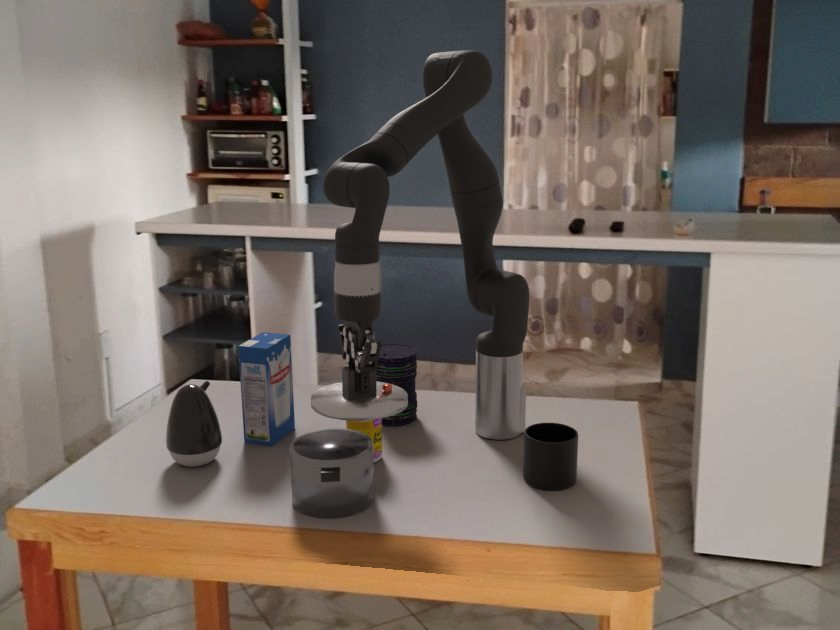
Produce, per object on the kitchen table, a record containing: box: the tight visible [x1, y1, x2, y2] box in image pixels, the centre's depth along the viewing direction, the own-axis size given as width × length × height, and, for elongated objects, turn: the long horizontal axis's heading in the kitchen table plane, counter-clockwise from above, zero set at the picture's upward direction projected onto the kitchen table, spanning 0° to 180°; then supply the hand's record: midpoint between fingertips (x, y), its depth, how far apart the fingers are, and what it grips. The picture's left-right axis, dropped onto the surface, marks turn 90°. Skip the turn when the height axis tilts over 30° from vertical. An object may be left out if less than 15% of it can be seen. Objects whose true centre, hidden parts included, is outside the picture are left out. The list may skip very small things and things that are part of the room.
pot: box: [289, 427, 375, 519], centre depth 151 cm, size 18×14×10 cm
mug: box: [522, 422, 579, 491], centre depth 158 cm, size 9×12×9 cm
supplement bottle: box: [345, 418, 383, 464], centre depth 166 cm, size 7×7×13 cm
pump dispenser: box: [165, 380, 223, 468], centre depth 165 cm, size 10×10×15 cm
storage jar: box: [376, 343, 418, 428], centre depth 185 cm, size 10×10×15 cm
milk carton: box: [237, 331, 296, 447], centre depth 176 cm, size 10×6×20 cm, turn 161°
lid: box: [310, 365, 408, 421], centre depth 146 cm, size 16×16×6 cm
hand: (359, 390), depth 146 cm, fingers closed on lid, 2 cm apart
